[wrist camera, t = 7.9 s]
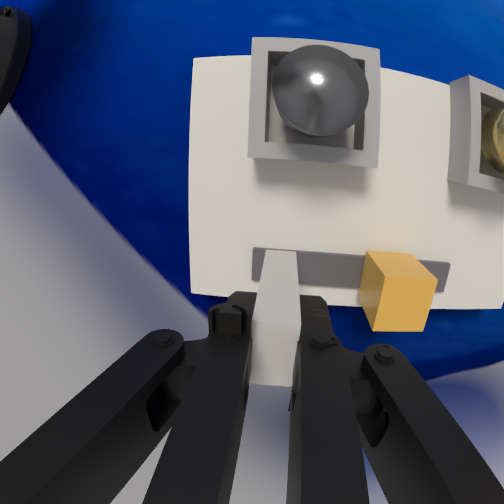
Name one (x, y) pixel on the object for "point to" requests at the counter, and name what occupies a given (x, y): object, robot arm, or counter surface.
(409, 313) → the slider knob
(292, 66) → the grey button
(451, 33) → the counter surface
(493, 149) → the brass button
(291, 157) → the console
